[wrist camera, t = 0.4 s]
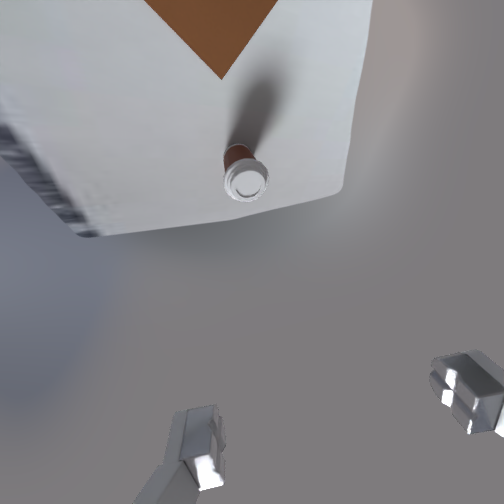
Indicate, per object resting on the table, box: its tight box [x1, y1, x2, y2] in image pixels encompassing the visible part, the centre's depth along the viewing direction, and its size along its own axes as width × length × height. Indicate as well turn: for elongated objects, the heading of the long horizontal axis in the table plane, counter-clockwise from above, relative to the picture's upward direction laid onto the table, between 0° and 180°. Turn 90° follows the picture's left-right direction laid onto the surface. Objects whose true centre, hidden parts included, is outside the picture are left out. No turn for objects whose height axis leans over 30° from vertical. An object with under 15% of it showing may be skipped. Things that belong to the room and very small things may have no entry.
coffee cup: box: [223, 144, 269, 202], centre depth 51 cm, size 9×9×12 cm
